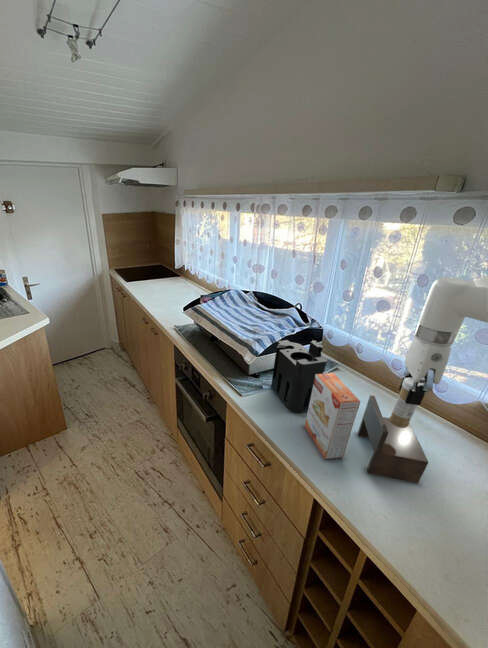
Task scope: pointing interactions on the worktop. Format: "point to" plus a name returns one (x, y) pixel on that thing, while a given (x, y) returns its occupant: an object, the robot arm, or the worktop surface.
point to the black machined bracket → (296, 373)
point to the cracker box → (331, 415)
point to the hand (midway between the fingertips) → (409, 396)
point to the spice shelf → (391, 446)
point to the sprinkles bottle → (403, 405)
